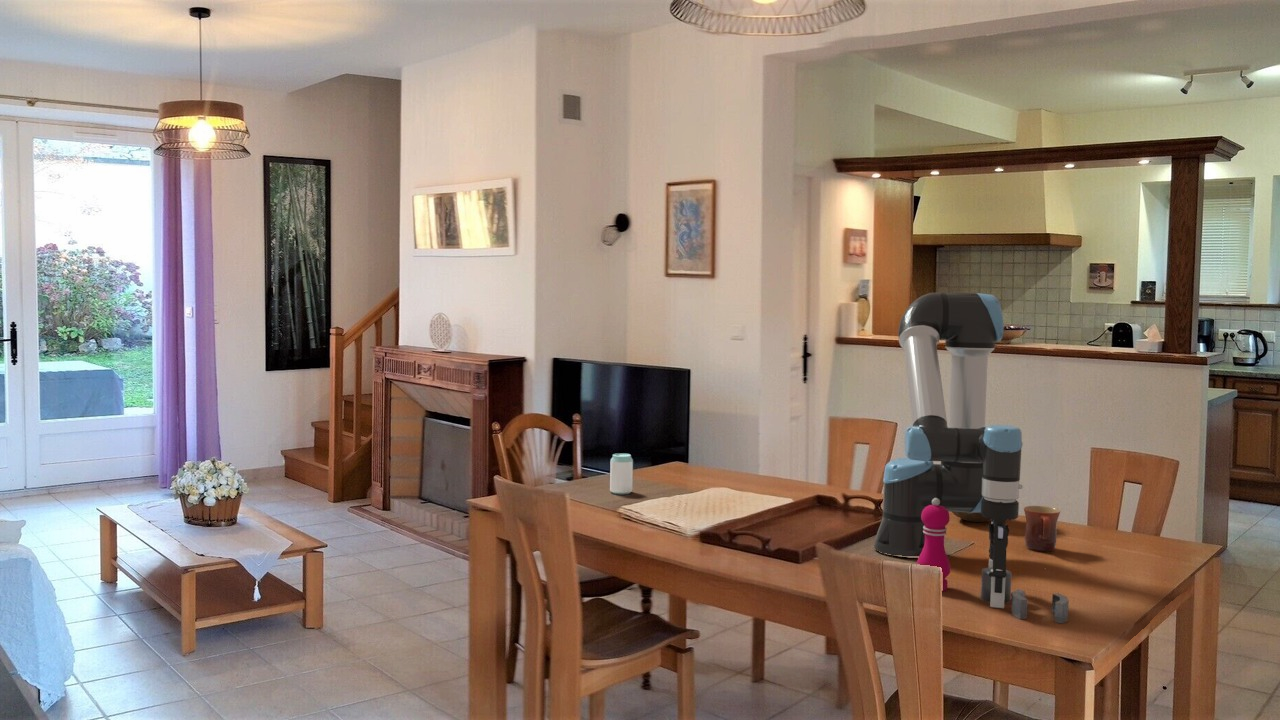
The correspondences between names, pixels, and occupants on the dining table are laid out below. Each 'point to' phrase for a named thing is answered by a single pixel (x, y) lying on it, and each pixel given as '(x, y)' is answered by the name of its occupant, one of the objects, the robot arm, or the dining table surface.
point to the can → (621, 474)
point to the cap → (987, 585)
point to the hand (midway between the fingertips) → (995, 598)
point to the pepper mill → (935, 538)
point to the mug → (1041, 527)
